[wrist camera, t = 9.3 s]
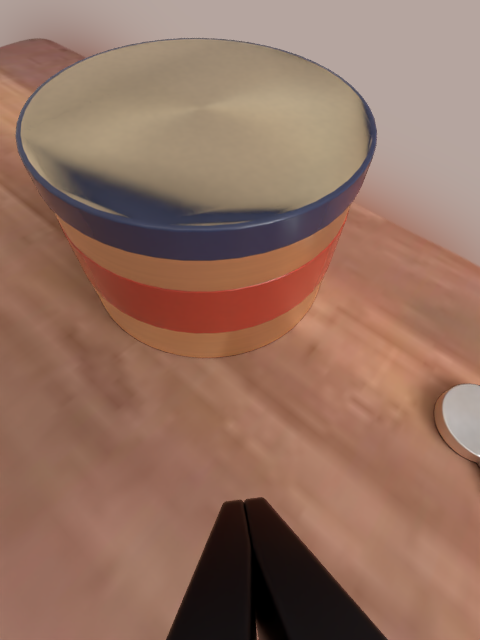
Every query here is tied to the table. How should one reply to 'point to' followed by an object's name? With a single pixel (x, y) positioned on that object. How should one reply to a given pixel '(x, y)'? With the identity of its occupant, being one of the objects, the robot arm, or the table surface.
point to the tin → (199, 184)
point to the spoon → (460, 420)
